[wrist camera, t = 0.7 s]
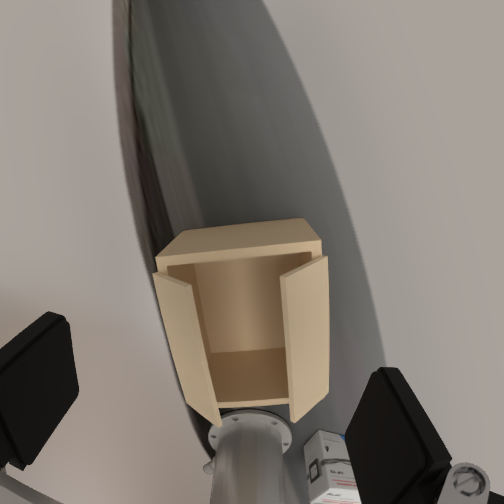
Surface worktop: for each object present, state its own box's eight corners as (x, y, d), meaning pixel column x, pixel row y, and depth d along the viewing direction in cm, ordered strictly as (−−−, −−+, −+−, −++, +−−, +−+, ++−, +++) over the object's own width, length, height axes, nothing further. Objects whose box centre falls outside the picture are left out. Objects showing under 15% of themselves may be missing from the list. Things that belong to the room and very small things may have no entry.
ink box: (361, 438, 43) (382, 508, 29) (343, 455, 44) (359, 523, 30) (318, 428, 42) (332, 506, 28) (301, 446, 44) (310, 521, 29)
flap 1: (190, 400, 29) (186, 402, 28) (157, 271, 25) (152, 273, 25) (222, 425, 25) (218, 427, 25) (191, 284, 21) (185, 287, 21)
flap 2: (322, 255, 24) (327, 256, 24) (324, 390, 28) (328, 392, 28) (279, 276, 21) (285, 277, 21) (290, 420, 25) (294, 423, 24)
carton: (310, 346, 38) (323, 399, 28) (206, 355, 39) (193, 408, 29) (303, 217, 34) (321, 240, 24) (183, 230, 34) (155, 257, 25)
